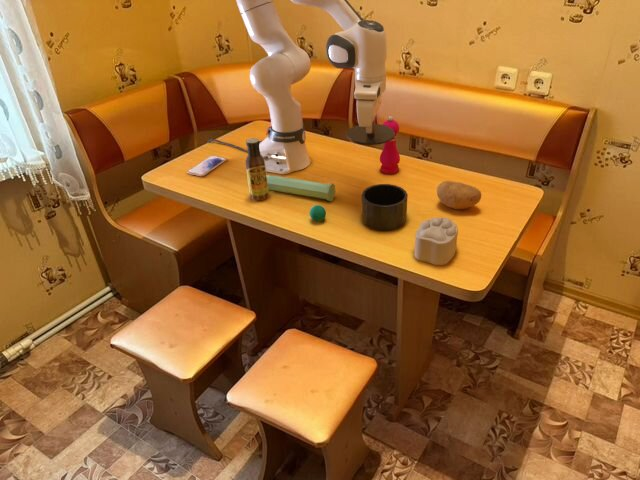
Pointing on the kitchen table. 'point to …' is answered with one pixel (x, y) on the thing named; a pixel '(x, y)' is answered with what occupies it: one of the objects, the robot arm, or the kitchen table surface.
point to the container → (301, 187)
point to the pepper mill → (390, 150)
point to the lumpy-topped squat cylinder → (436, 241)
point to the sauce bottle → (256, 171)
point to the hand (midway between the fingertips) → (370, 129)
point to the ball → (317, 213)
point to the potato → (458, 195)
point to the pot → (384, 207)
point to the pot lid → (371, 134)
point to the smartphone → (206, 166)
